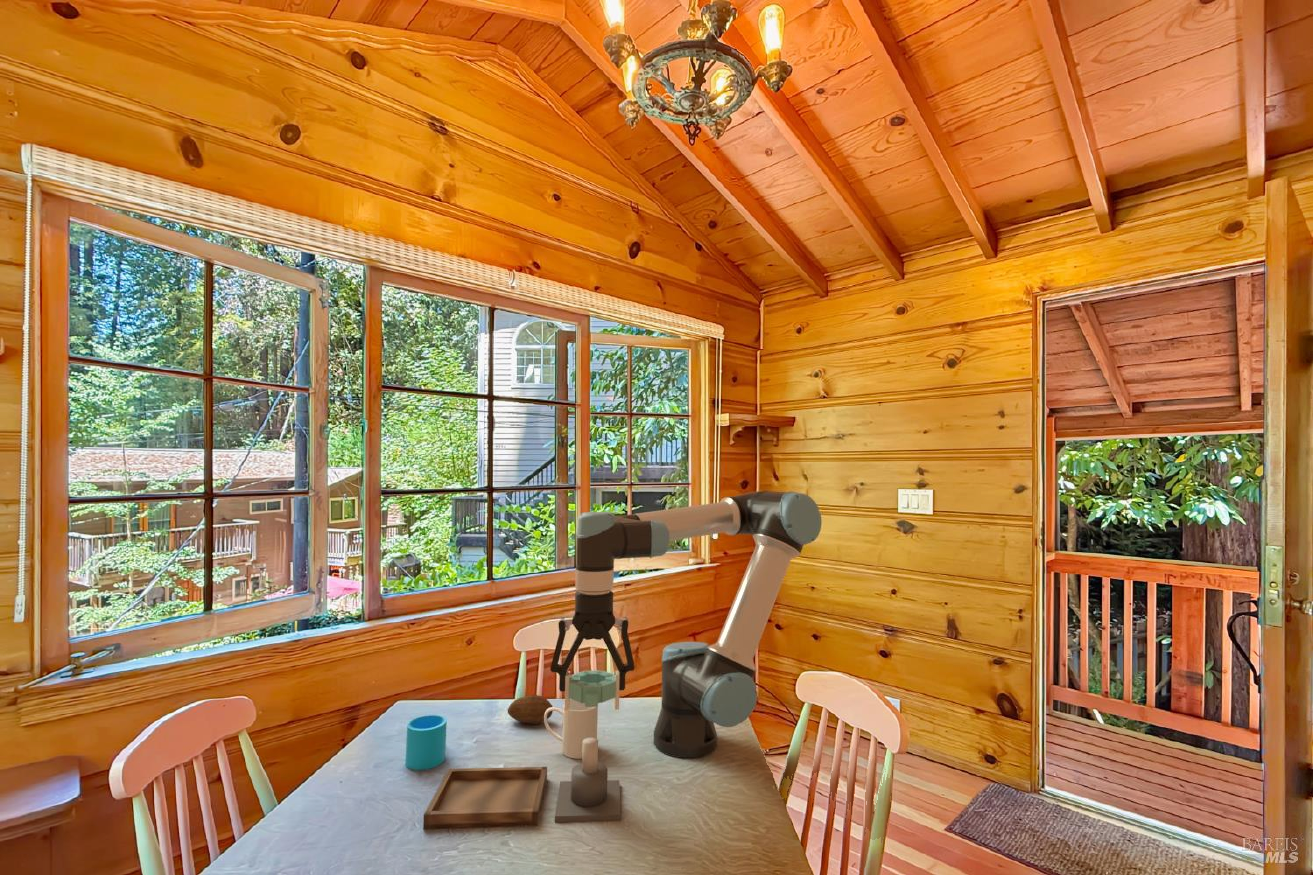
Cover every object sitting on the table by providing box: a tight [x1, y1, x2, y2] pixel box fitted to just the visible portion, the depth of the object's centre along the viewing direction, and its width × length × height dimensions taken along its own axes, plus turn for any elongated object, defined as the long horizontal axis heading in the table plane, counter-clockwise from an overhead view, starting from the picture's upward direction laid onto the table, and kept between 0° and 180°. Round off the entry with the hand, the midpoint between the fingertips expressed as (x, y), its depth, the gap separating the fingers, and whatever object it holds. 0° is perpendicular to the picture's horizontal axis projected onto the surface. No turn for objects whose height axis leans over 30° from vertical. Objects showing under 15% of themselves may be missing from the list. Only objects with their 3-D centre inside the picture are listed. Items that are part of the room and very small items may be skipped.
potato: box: [507, 694, 554, 725], centre depth 147 cm, size 7×12×7 cm, turn 92°
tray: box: [422, 766, 548, 830], centre depth 111 cm, size 20×16×2 cm
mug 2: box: [543, 699, 599, 760], centre depth 132 cm, size 12×8×10 cm, turn 97°
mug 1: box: [405, 714, 448, 771], centre depth 129 cm, size 12×8×8 cm
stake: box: [554, 738, 622, 823], centre depth 112 cm, size 12×12×12 cm
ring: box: [569, 669, 616, 708], centre depth 112 cm, size 9×11×3 cm
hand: (592, 707), depth 113 cm, fingers closed on ring, 9 cm apart
